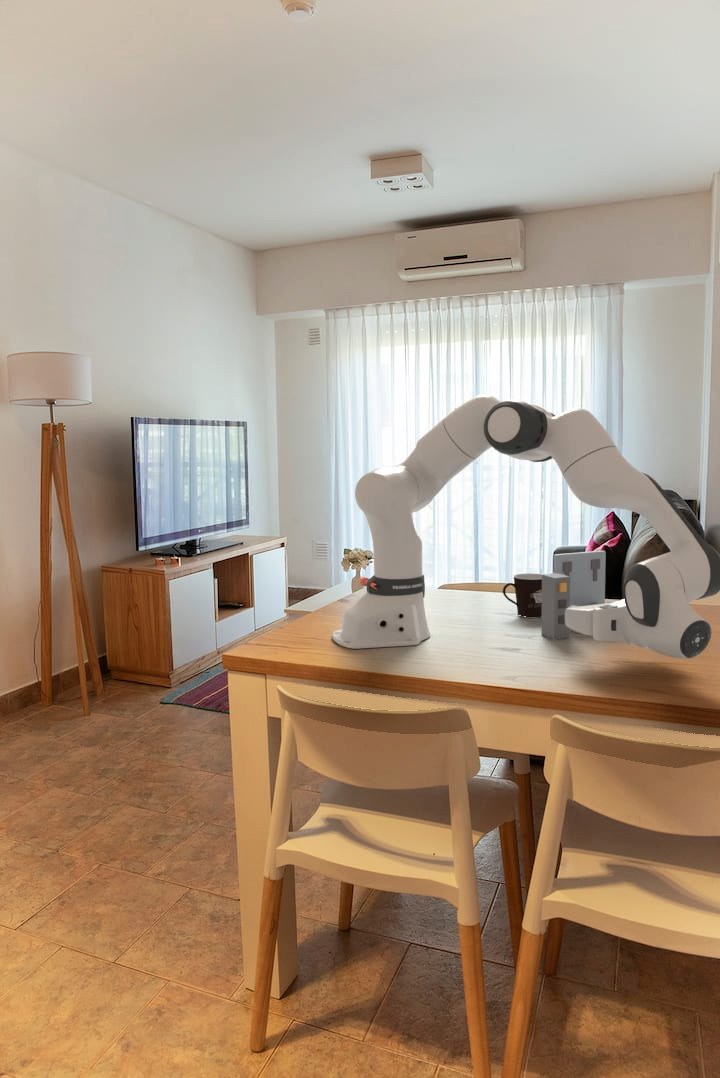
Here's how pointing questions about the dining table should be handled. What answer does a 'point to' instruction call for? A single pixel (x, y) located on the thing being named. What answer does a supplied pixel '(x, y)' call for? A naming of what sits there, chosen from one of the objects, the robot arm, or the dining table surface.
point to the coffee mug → (527, 594)
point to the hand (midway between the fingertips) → (590, 607)
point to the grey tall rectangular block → (555, 605)
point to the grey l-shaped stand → (583, 576)
